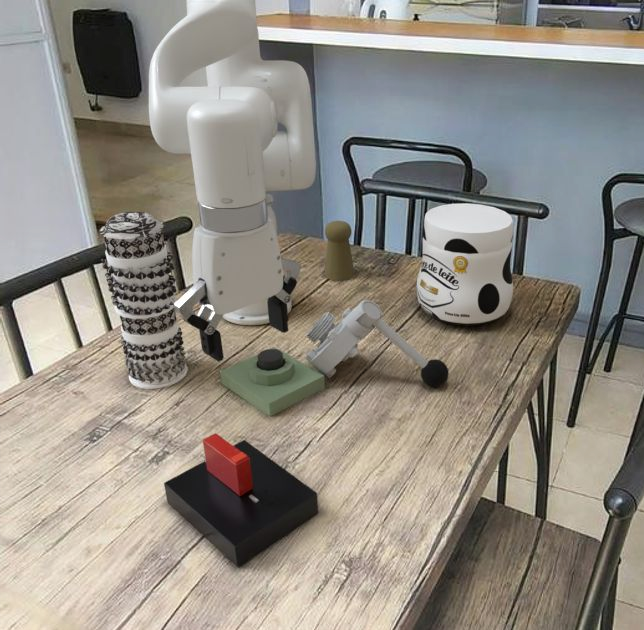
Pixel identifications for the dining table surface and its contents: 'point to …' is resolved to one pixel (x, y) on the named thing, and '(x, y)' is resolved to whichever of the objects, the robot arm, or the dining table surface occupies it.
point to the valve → (354, 327)
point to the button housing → (272, 383)
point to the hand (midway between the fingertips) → (247, 342)
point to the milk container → (466, 264)
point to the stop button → (270, 359)
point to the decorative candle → (144, 299)
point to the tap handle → (228, 464)
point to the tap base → (242, 506)
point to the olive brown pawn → (338, 251)
